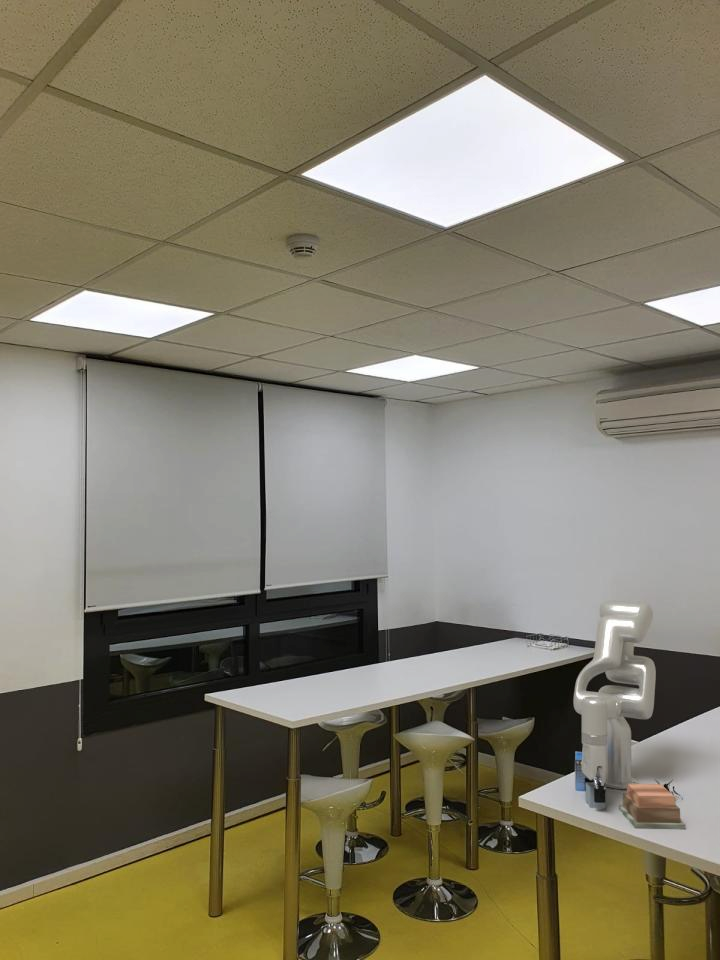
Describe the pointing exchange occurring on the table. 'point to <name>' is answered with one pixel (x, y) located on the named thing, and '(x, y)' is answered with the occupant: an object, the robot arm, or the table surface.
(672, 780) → the creature
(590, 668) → the robot arm
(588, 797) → the slate brick
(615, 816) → the table surface
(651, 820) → the stepped plate stack
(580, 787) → the label tape box
